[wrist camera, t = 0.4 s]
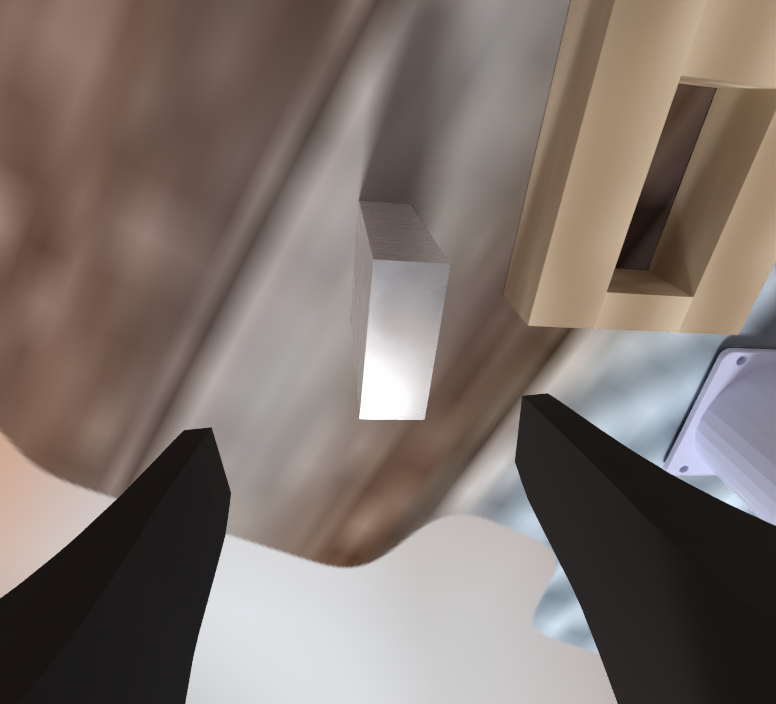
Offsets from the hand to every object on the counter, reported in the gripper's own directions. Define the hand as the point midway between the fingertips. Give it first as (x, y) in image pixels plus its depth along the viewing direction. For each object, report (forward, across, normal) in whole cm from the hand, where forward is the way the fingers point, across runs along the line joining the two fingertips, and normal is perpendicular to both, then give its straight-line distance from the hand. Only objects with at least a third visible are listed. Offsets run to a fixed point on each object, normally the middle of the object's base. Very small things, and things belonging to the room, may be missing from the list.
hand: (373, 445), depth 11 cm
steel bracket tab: (+10, -1, -1) cm, 10 cm away
